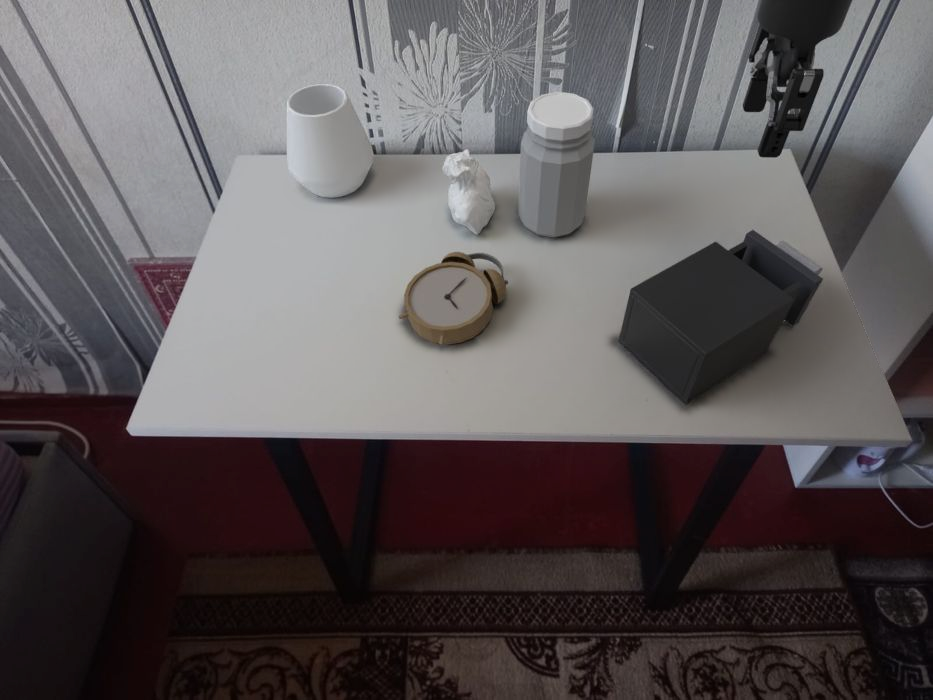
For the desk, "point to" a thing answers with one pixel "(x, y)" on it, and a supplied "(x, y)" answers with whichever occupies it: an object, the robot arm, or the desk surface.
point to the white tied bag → (468, 191)
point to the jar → (556, 164)
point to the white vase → (326, 141)
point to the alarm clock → (453, 298)
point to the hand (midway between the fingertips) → (759, 132)
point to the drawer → (782, 270)
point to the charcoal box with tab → (702, 320)
